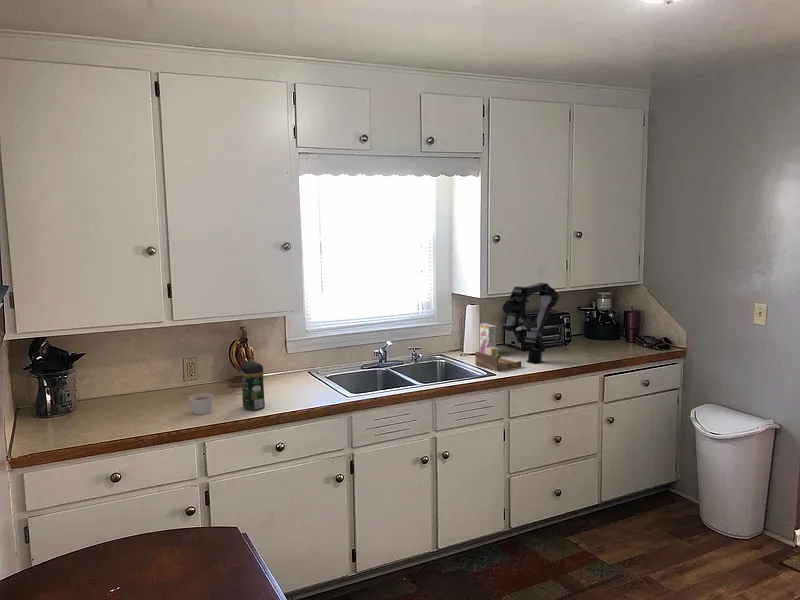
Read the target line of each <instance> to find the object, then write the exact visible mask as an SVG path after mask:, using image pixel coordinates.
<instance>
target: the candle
mask: <svg viewBox="0 0 800 600" xmlns="http://www.w3.org/2000/svg"><path fill="white" fill-rule="evenodd" d="M213 398H214V394H211V393H205V392H202V393H196V394H192V395H190V396H189V397H188V399H189V404H190V408H191V412H192V413H193V414H194V415H207V414H209V413H211V411H212V405H213V400H214V399H213Z"/></svg>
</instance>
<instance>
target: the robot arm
mask: <svg viewBox="0 0 800 600" xmlns="http://www.w3.org/2000/svg"><path fill="white" fill-rule="evenodd" d="M533 294H538V296H539V297H540V304H541V306H540V309H539V311H538V313H537V314H538V315H537V317H531V318H530V317H529V314H528V313H527V303H529V302H530V301H529V300H528V299H527V298H531V297H530V296H532V295H533ZM559 298H560V296H559V294H558V292H557V291H556V289H554V288H553V287H552V286H550V285H549V284H548V283H546V282H539V283H535V284H531V285H527V286H514V287H513V289H512V292H511V293H510V295H509V297H508V299H506V301H505V303H504V304H503V306H502V310H503V312H504V314H506V315H511V314H512V316H513V317H514V319H513V320H514V321H512V323H504V324H502V330H503V331H506V332H507V331H508V332H512V333H513V334H514V336H515V339H516V340H517V343H519V344H521V343H522V341H523V338H524V336H525V334H526V336H525V338H524V346H525V350H527V351H528V356H527V359H528V360H526V362H527V363H531V364H541V363H544V362H545V361H544V360H543V357H542V356H543V352H545V351H546V346H545V344H544V343H543V342H544V341H543V340H544V338H543V332H544V329H545V326H546V323H547V320H548V317H549V315H550V311H551V309H552V308H553V307H554V306H556V304H557V302H558V300H559ZM530 329H532V330H531V331H529V330H530Z"/></svg>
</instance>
